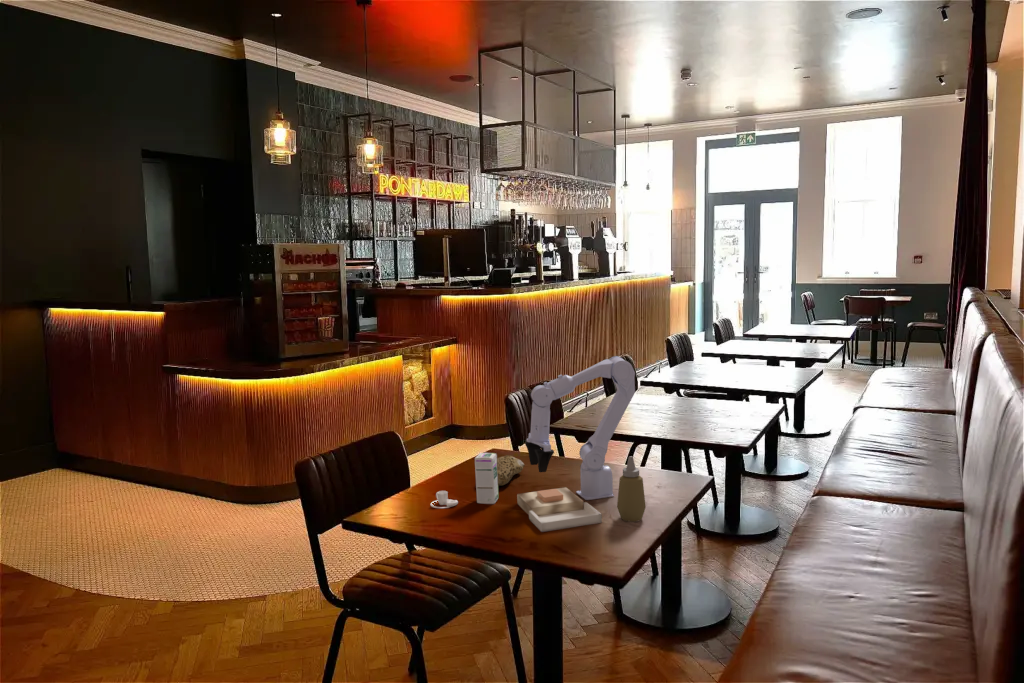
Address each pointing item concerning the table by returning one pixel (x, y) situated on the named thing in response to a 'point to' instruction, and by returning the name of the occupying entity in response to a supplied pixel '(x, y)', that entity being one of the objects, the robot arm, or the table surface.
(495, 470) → the syrup box
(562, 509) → the platform
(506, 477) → the sponge
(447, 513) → the table surface
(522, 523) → the table surface
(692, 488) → the table surface
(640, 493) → the squeeze bottle
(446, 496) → the teacup and saucer
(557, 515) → the tray
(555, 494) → the tile
